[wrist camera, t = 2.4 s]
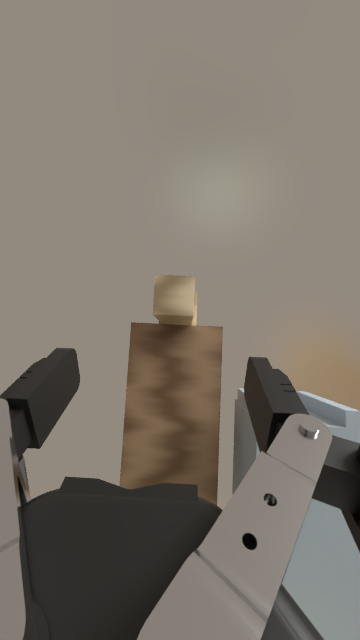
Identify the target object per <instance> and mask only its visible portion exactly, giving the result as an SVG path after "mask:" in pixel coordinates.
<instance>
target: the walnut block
mask: <svg viewBox="0 0 360 640" xmlns="http://www.w3.org/2000/svg"><path fill="white" fill-rule="evenodd" d="M222 333H223V327H214V326H194V325H173V324H152V323H131V335H130V348H129V349H130V350H129V363H128V376H127V390H126V404H125V418H124V432H123V433H124V434H123V446H122V461H121V474H120V487H122V488H125V489H135V488H140V487H146V486H151V485H156V484H161V483H177V484H193V485H198V497H201V498H204V499H206V500H208V501H210V502H212V503H213V504H215V505H216V506H217V486H218V455H219V425H220V424H219V423H220V394H221V362H222Z"/></svg>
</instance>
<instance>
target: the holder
mask: <svg viewBox="0 0 360 640" xmlns="http://www.w3.org/2000/svg"><path fill="white" fill-rule="evenodd" d="M296 393H297V394H298V396H299V397H300V399H301V401H302V403H303V404H304V406H305V408H306V410H307V411H308V413H309V415H310V416H313V417H315V418H317V419H319V420H320V421H322V422H323V423H324V424H325V425H326V426H327V427H328V428H329V429H330V431H331V433H332V435H334V436H337V437H340V438H343V439H347V440H350V441H354V442H357V443H360V411H358V410H355V409H352V408H350V407H347V406H344V405H341V404H338V403H336V402H333V401H330V400H327V399H324V398H322V397H319V396H316V395H313V394H311V393H308V392H300V391H296ZM234 420H235V422H234V423H235V424H234V457H233V494H234V492H235V491H236V489H237V488H238V486H239V485H240V483H241V482H242V480H243V478H244V477H245V475H246V474H247V472H248V471H249V469H250V467H251V466H252V464H253V463H254V461H255V460H256V458H257V457H258V455H259V454H260V451H259V448H258V444H257V440H256V437H255V433H254V430H253V426H252V423H251V419H250V415H249V412H248V408H247V405H246V401H245V397H244V388H238V398H237V400H235V419H234ZM282 585H283V586H284V587H285V589H286V590H287V591H288V592H289V594H290V595H291V596H292V598H293V599H294V600H295V602H296V603H297V604H298V606H299V607H300V608H301V610H302V611H303V612H304V613H305V615H306V616H307V617H308V619H309V620H310V621H311V623H312V624H313V625H314V627H315V628H316V629H317V631H318V632H319V633H320V635H321V636H322V637H323V638H324V640H360V552H359V550H358V548H357V546H356V543H355V541H354V539H353V536H352V534H351V532H350V530H349V527H348V525H347V523H346V521H345V518H344V516H343V514H342V511H341V509H339V508H336V507H333V506H331V505H328V504H325V503H323V502H320V501H317V500H314V499H311V502H310V505H309V508H308V511H307V514H306V516H305V519H304V522H303V525H302V528H301V531H300V533H299V536H298V539H297V542H296V545H295V548H294V551H293V553H292V556H291V559H290V562H289V565H288V568H287V571H286V573H285V576H284V579H283V582H282Z"/></svg>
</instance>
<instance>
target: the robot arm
mask: <svg viewBox="0 0 360 640" xmlns="http://www.w3.org/2000/svg"><path fill="white" fill-rule="evenodd" d="M79 383H80V374H79V368H78V361H77V354H76V351H75V349H72V348H56V349H55V350H54V351H53V352H52V353H51V354H50V355H49V356H48V357H47V358H43V359H41V360H40V361H38V362H36V363H34V364H33V365H32V366H30V368H28V370H27V371H26V373H25V372H24V373H23V374H22V375H21V376H20V378H19V379H17V380H16V381H15V382H14V383H13V384H12V385H11V386H10V387H9V388H8V389H7V390H6V391H4V393H2V394H1V395H0V640H324V638H323V637H322V636H321V635H320V633H319V632H318V631H317V629H316V628H315V627H314V625H313V624H312V623H311V621H310V620H309V619H308V617H307V616H306V615H305V613H304V612H303V611H302V610H301V608H300V607H299V606H298V604H297V603H296V602H295V600H294V599H293V598H292V596H291V595H290V594H289V592H288V591H287V590H286V589H285V587H284V586H283V585H282V582H283V579H284V576H285V573H286V571H287V568H288V565H289V562H290V559H291V556H292V553H293V551H294V548H295V545H296V542H297V539H298V536H299V533H300V531H301V528H302V525H303V522H304V519H305V516H306V514H307V511H308V508H309V505H310V502H311V499H314V500H317V501H320V502H323V503H325V504H328V505H331V506H333V507H336V508H339V509H341V511H342V514H343V516H344V518H345V521H346V523H347V525H348V527H349V530H350V532H351V534H352V536H353V539H354V541H355V543H356V546H357V548H358V550H359V552H360V443H357V442H354V441H350V440H347V439H343V438H340V437H337V436H334V435H332V433H331V431H330V429H329V428H328V427H327V426H326V425H325V424H324V423H323V422H322V421H320V420H319V419H317V418H315V417H313V416H310V415H309V413H308V411H307V410H306V408H305V406H304V404H303V403H302V401H301V399H300V397H299V396H298V394H297V393H296V391H295V389H294V387H293V386H292V384H291V382H290V380H289V378H288V377H287V376H286V375H285V374H284V373H283V372H281V371H280V370H279V369H272V367H271V365H270V363H269V361H268V359H267V358H263V357H249V360H248V364H247V371H246V377H245V385H244V397H245V401H246V405H247V408H248V412H249V415H250V419H251V423H252V426H253V430H254V433H255V437H256V440H257V444H258V448H259V451H260V454H259V455H258V457H257V458H256V460H255V461H254V463H253V464H252V466H251V467H250V469H249V471H248V472H247V474H246V475H245V477H244V478H243V480H242V482H241V483H240V485H239V486H238V488H237V489H236V491H235V492H234V494H233V496H232V497H231V499H230V500H229V502H228V503H227V505H226V507H225V508H224V510H222V509H220V508H219V507H218V506H216V505H215V504H213V503H212V502H210V501H208V500H206V499H204V498H201V497H198V485H193V484H177V483H161V484H156V485H151V486H146V487H140V488H135V489H125V488H122V487H120V486H117V485H114V484H111V483H108V482H105V481H103V480H100V479H94V478H93V479H92V478H76V477H65V479H64V481H63V483H62V485H61V488H60V489H56V490H53V491H50V492H47V493H45V494H42V495H40V496H38V497H36V498H34V499H32V500H31V498H30V492H29V485H28V479H27V472H26V467H25V460H24V456H23V453H24V452H25V450H26V449H27V448H36V449H40V448H41V446H42V444H43V443H44V441H45V440H46V438H47V437H48V435H49V434H50V432H51V430H52V429H53V427H54V426H55V424H56V423H57V421H58V419H59V418H60V416H61V415H62V413H63V412H64V410H65V409H66V407H67V406H68V404H69V402H70V401H71V399H72V398H73V396H74V395H75V393H76V392H77V390H78V387H79Z"/></svg>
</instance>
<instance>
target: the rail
mask: <svg viewBox="0 0 360 640" xmlns="http://www.w3.org/2000/svg"><path fill="white" fill-rule="evenodd" d="M197 296H198V291H196V290H195V276H174V275H155V287H154V305H153V315H154V316H155V317H156V318H157V319H158V320H159V324H173V325H194V326H196V319H197V318H196V317H197Z"/></svg>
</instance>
